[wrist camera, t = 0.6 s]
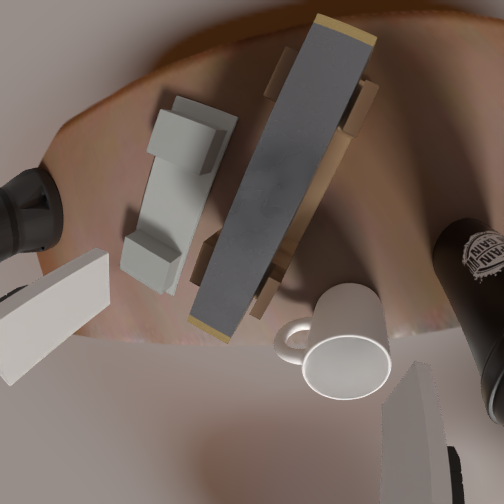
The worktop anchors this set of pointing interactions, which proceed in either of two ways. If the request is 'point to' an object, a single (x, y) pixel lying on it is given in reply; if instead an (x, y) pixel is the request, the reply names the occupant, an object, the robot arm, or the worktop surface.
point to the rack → (315, 192)
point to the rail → (281, 171)
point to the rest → (176, 191)
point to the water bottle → (477, 299)
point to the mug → (341, 343)
